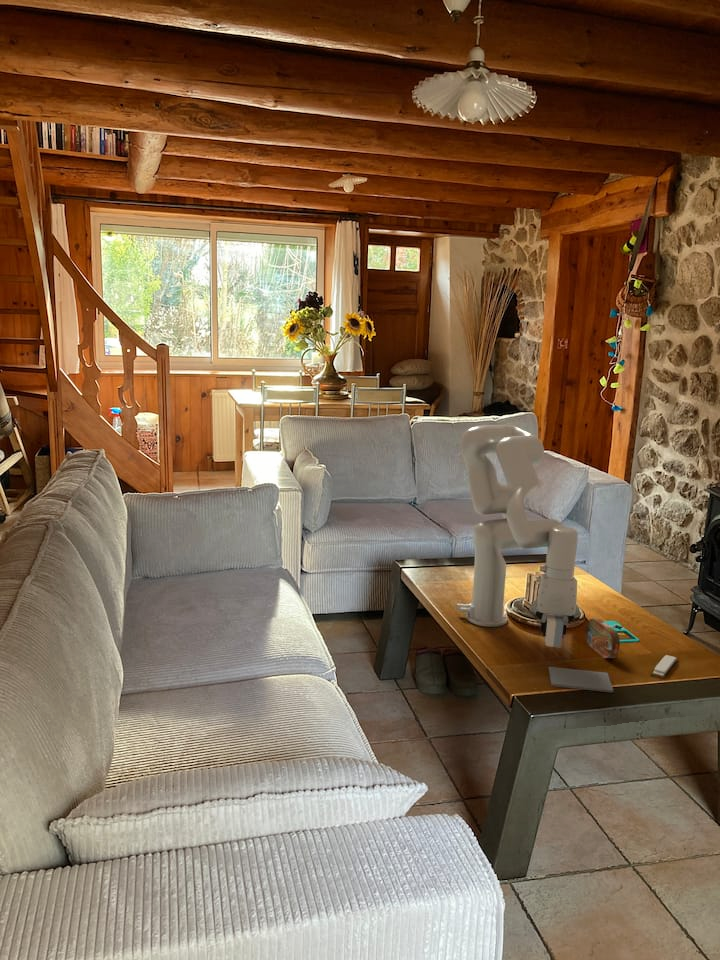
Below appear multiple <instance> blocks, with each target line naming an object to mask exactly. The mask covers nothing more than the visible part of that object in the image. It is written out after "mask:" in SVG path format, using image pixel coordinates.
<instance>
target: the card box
mask: <svg viewBox="0 0 720 960" xmlns="http://www.w3.org/2000/svg"><path fill="white" fill-rule="evenodd" d="M546 620H547V621H546V622H547V627H546V636H545V637H543V638H544V643H545V644H544V645H545V646H546V647H552V648H553V647H555V648H562V642H563V639H562V634H563V625H564V622H563V615H553V614H548V615H547V618H546Z"/></svg>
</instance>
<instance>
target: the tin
mask: <svg viewBox="0 0 720 960" xmlns="http://www.w3.org/2000/svg"><path fill="white" fill-rule="evenodd" d="M604 621H605V620H602V619H600V618H591V619H589V620H588V622H587V624H586V628H585V639H586V643H587V644H588V646H589V647H590V648H591V649H592V650H593V651H595V652H596V653H597V654H598V655H599V656H600V657H601V658H603V659H614V658H617V656H618V654H619V650H620V644H621V642H620V639H621V638H620V637H619V636H620V635H619V634H618V633H617V632H616V630H615V629H613V628H612V627H611V626H609V625H608V624H607V623H605V622H604Z"/></svg>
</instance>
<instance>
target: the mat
mask: <svg viewBox="0 0 720 960" xmlns="http://www.w3.org/2000/svg"><path fill="white" fill-rule="evenodd" d="M548 673H549V679H550V685H551V687H557V688H558V687H559V688H569V689H577V690H578V689H579V690H586V691H587V690H588V691H597V692H603V693H604V692H605V693H614V688H613V686H612V682H611V679H610V676H609V673H608V672H604V671H602V672H601V671H594V670H593V671H592V670H583V669H573V668H565V667H564V668H563V667H556V666H555V667H554V666H548Z"/></svg>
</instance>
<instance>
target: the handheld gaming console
mask: <svg viewBox="0 0 720 960" xmlns="http://www.w3.org/2000/svg"><path fill="white" fill-rule="evenodd" d="M603 621H604V622H605V623H607V624H608V625H609V626H611V627H612V628H613V629H615V630H616V632H617V633H618V635H619V639H620V643H638V642H639V640H640V639H639V638H638V637H637V636H636V635H634V634H633V633H631V631H629V630H628V629H626V628H625V627H623V626H622V625H621V624H620V623H619V622H617V621H613V620H606V621H605V620H603ZM626 634H627V635H628V636H629V637H630V638H622V636H623V635H624V636H626ZM620 637H621V638H620Z"/></svg>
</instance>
